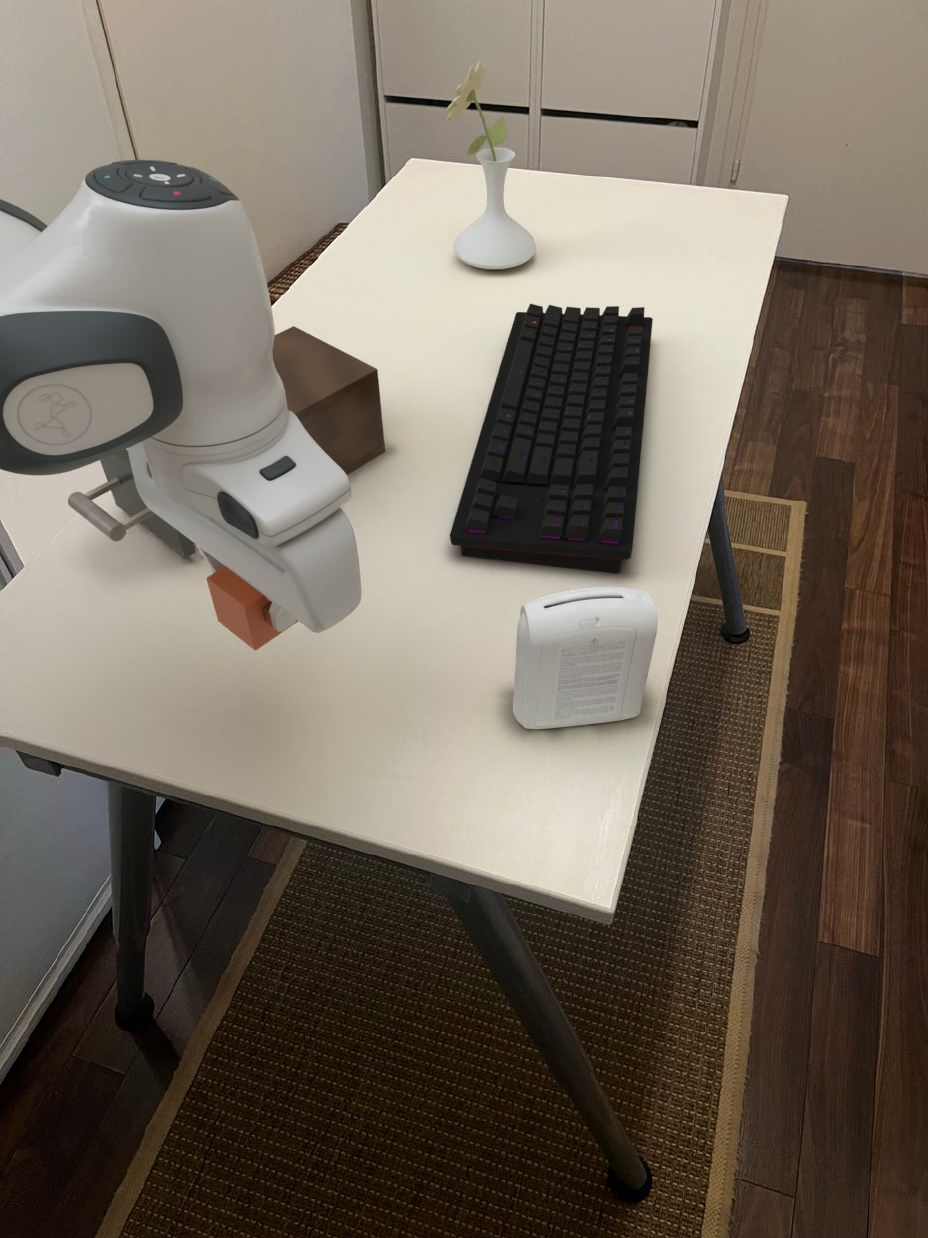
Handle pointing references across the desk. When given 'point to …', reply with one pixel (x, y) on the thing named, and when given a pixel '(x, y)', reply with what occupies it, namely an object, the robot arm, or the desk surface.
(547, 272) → the desk surface
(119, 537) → the drawer
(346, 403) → the cabinet
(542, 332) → the keyboard
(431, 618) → the desk surface
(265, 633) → the block
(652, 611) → the photo printer
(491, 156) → the flower in vase
